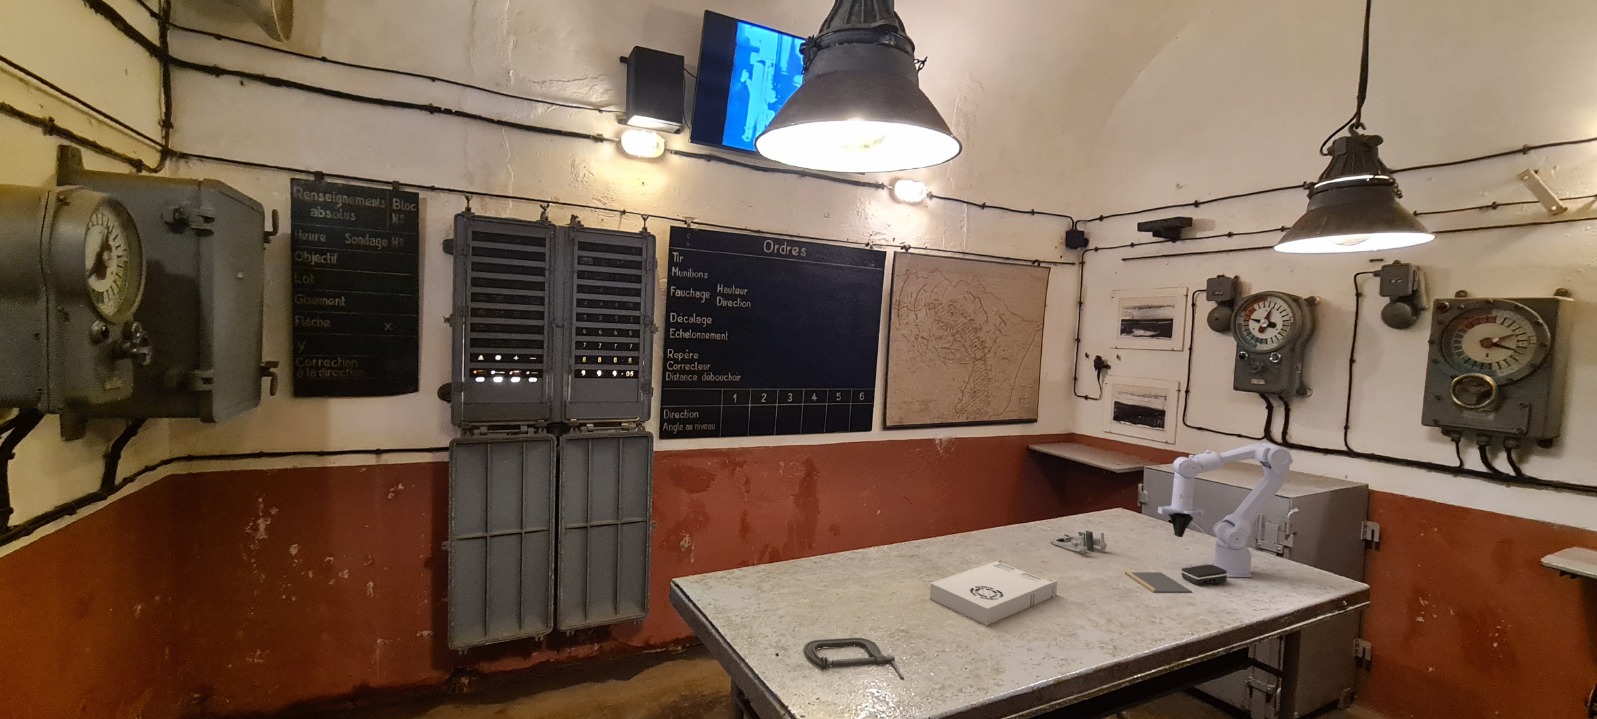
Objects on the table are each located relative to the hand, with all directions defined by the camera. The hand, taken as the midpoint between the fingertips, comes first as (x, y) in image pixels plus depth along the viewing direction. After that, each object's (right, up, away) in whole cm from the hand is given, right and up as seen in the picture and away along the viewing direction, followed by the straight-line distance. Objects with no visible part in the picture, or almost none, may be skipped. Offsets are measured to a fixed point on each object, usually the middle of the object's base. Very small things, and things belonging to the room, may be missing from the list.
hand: (1178, 535), depth 210 cm
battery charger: (-4, -10, -11) cm, 15 cm away
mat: (-14, -11, -13) cm, 22 cm away
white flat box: (-68, -10, -27) cm, 74 cm away
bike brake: (-27, -9, +17) cm, 33 cm away
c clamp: (-111, -11, -64) cm, 129 cm away
